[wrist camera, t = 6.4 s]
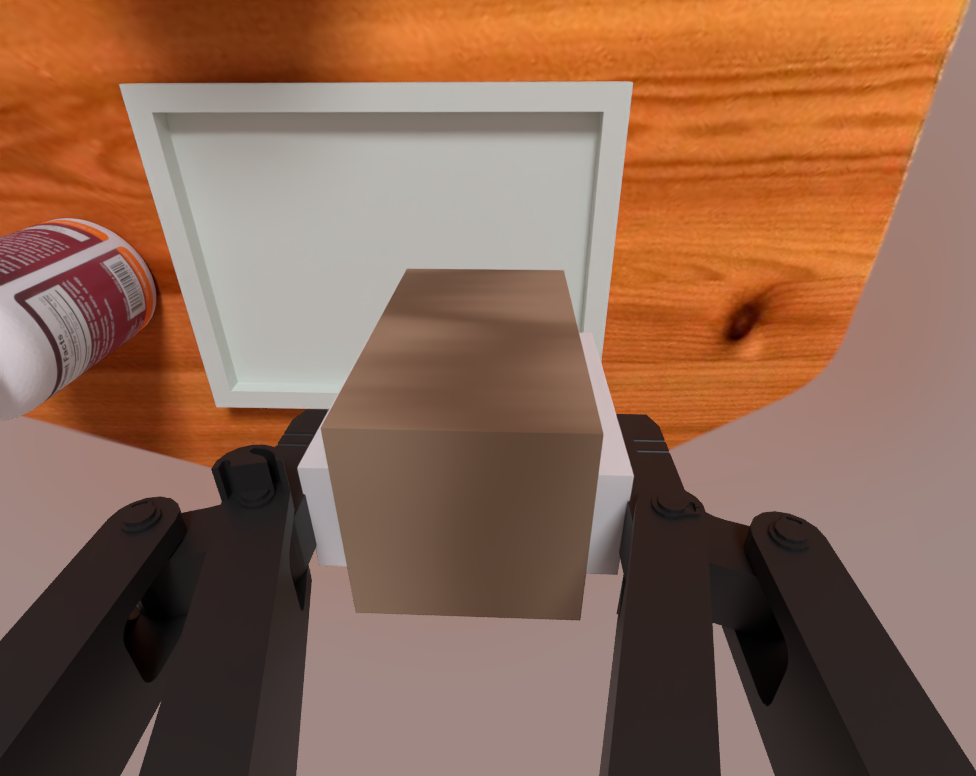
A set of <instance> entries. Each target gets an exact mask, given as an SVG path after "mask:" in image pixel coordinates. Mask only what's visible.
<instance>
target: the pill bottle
mask: <svg viewBox="0 0 976 776" xmlns="http://www.w3.org/2000/svg"><path fill="white" fill-rule="evenodd" d="M155 307H156V289H155V284H154V281H153V278H152V275H151V273H150V271H149V268H148V267H147V265H146V263H145V262H144V260H143V259H142V257H141V256H140V255H139V254H138V253H137V252H136V251H135V249H134V248H132V247H131V246H130V245H129V244H128V243H127V242H126V241H125V240H123V239H122V238H121V237H119V236H118V235H117V234H115V233H113V232H112V231H110V230H108V229H106V228H104V227H102V226H100V225H97V224H95V223H92V222H89V221H85V220H80V219H72V218H63V219H55V220H50V221H47V222H43V223H40V224H37V225H34V226H32V227H29V228H26V229H24V230H21V231H18V232H15V233H12V234H9V235H7V236H4V237H1V238H0V421H4V420H9V419H13V418H16V417H20V416H22V415H24V414H26V413H28V412H30V411H32V410H33V409H35V408H36V407H37V406H39V405H40V404H42V403H43V402H45V401H46V400H47V399H49V398H50V397H52V396H53V395H54V394H56V393H57V392H58V391H60V390H61V389H62V388H64V387H65V386H66V385H68V384H69V383H71V382H72V381H73V380H75V379H76V378H77V377H79V376H80V375H82V374H83V373H84V372H86V371H87V370H88V369H90V368H91V367H92V366H94V365H95V364H97V363H98V362H99V361H101V360H102V359H103V358H105V357H106V356H107V355H109V354H110V353H112V352H113V351H114V350H116V349H117V348H118V347H120V346H121V345H122V344H124V343H125V342H127V341H128V340H129V339H131V338H132V337H134V336H135V335H136V334H137V333H139V332H140V331H141V330H142V329H143V328H144V327H145V326H146V325H147V324H148V323H149V321H150V320H151V318H152V316H153V314H154V311H155Z"/></svg>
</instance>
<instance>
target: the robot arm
mask: <svg viewBox="0 0 976 776" xmlns="http://www.w3.org/2000/svg"><path fill="white" fill-rule="evenodd" d="M372 332H373V330H372ZM372 332H371V334H372ZM371 334H370V335H369V337H368V339H369V338H370V336H371ZM579 335H580V339H581V343H582V347H583V351H584V355H585V360H586V364H587V368H588V372H589V376H590V380H591V384H592V388H593V393H594V397H595V401H596V405H597V409H598V413H599V417H600V421H601V425H602V430H603V434H604V435H603V443H602V451H601V459H600V467H599V475H598V483H597V491H596V499H595V507H594V515H593V523H592V531H591V539H590V546H589V554H588V562H587V570H586V574H612V575H613V574H614V575H615V574H616V575H617V574H618V567H619V562H620V559H621V564H622V568H623V573H624V575H623V581H622V587H621V593H620V598H619V604H618V609H617V614H618V619H617V628H616V637H615V645H614V654H613V662H612V671H611V680H610V688H609V697H608V706H607V714H606V724H605V731H604V740H603V748H602V757H601V765H600V774H599V776H721V773H720V752H719V735H718V718H717V698H716V681H715V662H714V646H713V645H714V644H713V626H712V623H716V624H719V625H722V628H723V631H724V633H725V636H726V639H727V642H728V645H729V648H730V650H731V653H732V656H733V659H734V662H735V664H736V667H737V670H738V673H739V676H740V679H741V681H742V684H743V687H744V690H745V692H746V695H747V698H748V701H749V704H750V707H751V710H752V712H753V715H754V718H755V721H756V724H757V727H758V729H759V732H760V735H761V738H762V740H763V743H764V746H765V749H766V752H767V755H768V758H769V760H770V763H771V766H772V769H773V772H774V774H775V776H976V770H975V769H974V767H973V766H972V764H971V763H970V761H969V759H968V758H967V756H966V755H965V753H964V752H963V750H962V749H961V747H960V745H959V744H958V742H957V741H956V739H955V738H954V736H953V735H952V733H951V731H950V730H949V728H948V727H947V725H946V724H945V722H944V721H943V719H942V717H941V716H940V714H939V713H938V711H937V710H936V708H935V707H934V705H933V704H932V702H931V700H930V699H929V697H928V696H927V694H926V693H925V691H924V689H923V688H922V686H921V685H920V683H919V682H918V680H917V679H916V677H915V676H914V674H913V672H912V671H911V669H910V668H909V666H908V665H907V663H906V662H905V660H904V658H903V657H902V655H901V654H900V652H899V651H898V649H897V647H896V646H895V645H894V643H893V641H892V640H891V638H890V637H889V635H888V633H887V632H886V630H885V629H884V627H883V626H882V624H881V623H880V621H879V619H878V618H877V617H876V615H875V613H874V612H873V610H872V609H871V607H870V605H869V604H868V602H867V601H866V599H865V598H864V596H863V595H862V593H861V592H860V590H859V589H858V587H857V585H856V584H855V582H854V581H853V579H852V578H851V576H850V574H849V573H848V572H847V570H846V568H845V567H844V565H843V564H842V562H841V560H840V559H839V557H838V556H837V554H836V553H835V551H834V550H833V548H832V547H831V545H830V543H829V542H828V540H827V539H826V537H825V536H824V535H823V534H822V533H821V532H820V531H819V530H818V529H817V528H816V527H815V526H813V525H812V524H810V523H809V522H807V521H806V520H804V519H802V518H799V517H797V516H794V515H791V514H788V513H782V512H776V511H775V512H765V513H761V514H759V515H758V516H756V517H754V519H753V521H752V523H751V525H750V526H747V525H743V524H739V523H735V522H731V521H727V520H724V519H720V518H718V517H715V516H712V515H710V514H708V513H706V512H705V509H704V506H703V505H702V503H701V502H700V501H699V500H698V499H697V498H696V497H695V496H693V495H692V494H690V493H689V492H687V491H685V490H684V487H683V485H682V482H681V480H680V477H679V475H678V472H677V470H676V467H675V465H674V462H673V460H672V457H671V455H670V453H669V450H668V447H667V445H666V442H664V437H663V435H662V432H661V430H660V427H659V426H658V425H657V424H656V423H655V422H654V421H653V420H652V419H650V418H649V417H648V416H647V415H638V414H616V413H615V409H614V406H613V402H612V399H611V395H610V392H609V389H608V385H607V382H606V378H605V375H604V371H603V368H602V364H601V361H600V358H599V354H598V351H597V347H596V344H595V340H594V337H593V334H592V333H579ZM368 339H367V341H368ZM367 341H366V343H367ZM366 343H365V345H366ZM365 345H364V346H363V348H362V350H363V349H364V347H365ZM362 350H361V352H362ZM361 352H360V354H361ZM360 354H359V356H360ZM359 356H358V357H357V359H356V361H355V363H356V362H357V360H358V358H359ZM355 363H354V365H355ZM354 365H353V367H354ZM353 367H352V368H351V370H350V372H349V374H350V373H351V371H352V369H353ZM349 374H348V376H349ZM348 376H347V377H346V379H345V381H344V383H343V385H342V387H343V386H344V384H345V382H346V380H347V378H348ZM342 387H341V388H340V390H339V392H338V394H337V396H336V398H337V397H338V395H339V393H340V391H341V389H342ZM336 398H335V399H334V401H333V403H332V405H331V407H330V409H329V410H321V409H307V410H306V411H304V412H303V413H301V414H300V415H299V416H297V417H296V418H295V419H293V420H292V422H291V423H290V425H289V426H288V428H287V429H286V431H285V433H284V435H283V436H282V437H281V439H280V441H279V442H278V446H276V447H272V446H268V445H250V446H245V447H241V448H238V449H235V450H233V451H231V452H229V453H226V454H225V455H224V456H222V457H221V458H220V459H218V460H217V461H216V463H215V464H214V466H213V467H212V469H211V470H212V473H213V476H214V479H215V482H216V485H217V488H218V491H219V494H220V497H221V500H222V503H221V505H218V506H213V507H210V508H204V509H199V510H194V511H189V512H184V513H181V511H180V508H179V505H178V503H176V502H175V501H174V500H172V499H171V498H165V497H152V498H145V499H142V500H139V501H136V502H133V503H131V504H129V505H127V506H125V507H123V508H121V509H120V510H118V511H117V512H116V513H115V514H114V515H112V516H111V517H110V518H109V519H108V520H107V521H106V522H105V523H104V524H103V525H102V527H101V528H100V529H99V530H98V531H97V532H96V533H95V534H94V536H93V537H92V538H91V539H90V540H89V541H88V542H87V543H86V545H85V546H84V547H83V548H82V549H81V550H80V551H79V553H78V554H77V555H76V556H75V557H74V558H73V559H72V560H71V562H70V563H69V564H68V565H67V566H66V567H65V568H64V569H63V571H62V572H61V573H60V574H59V575H58V576H57V577H56V578H55V580H54V581H53V582H52V583H51V584H50V585H49V586H48V588H47V589H46V590H45V591H44V592H43V593H42V594H41V595H40V597H39V598H38V599H37V600H36V601H35V602H34V603H33V604H32V606H31V607H30V608H29V609H28V610H27V611H26V612H25V613H24V615H23V616H22V617H21V618H20V619H19V620H18V621H17V623H16V624H15V625H14V626H13V627H12V628H11V629H10V630H9V632H8V633H7V634H6V635H5V636H4V637H3V638H2V640H1V641H0V776H120V775H121V773H122V771H123V770H124V768H125V766H126V764H127V762H128V760H129V759H130V757H131V755H132V753H133V751H134V750H135V748H136V746H137V744H138V742H139V740H140V739H141V737H142V735H143V733H144V731H145V729H146V728H147V726H148V724H149V722H150V720H151V718H152V717H153V715H154V713H155V711H156V709H157V707H158V706H159V703H160V702H161V704H160V707H159V711H158V714H157V717H156V720H155V724H154V727H153V730H152V734H151V737H150V741H149V744H148V747H147V750H146V754H145V757H144V760H143V763H142V767H141V770H140V774H139V776H296V770H297V758H298V745H299V732H300V720H301V707H302V695H303V682H304V669H305V657H306V644H307V632H308V619H309V607H310V595H311V582H312V579H311V574H310V569H309V565H308V564H309V562H310V560H311V557H312V555H313V552H314V550H315V548H316V552H317V557H318V561H319V565H325V566H326V565H327V566H347V564H346V559H345V554H344V548H343V543H342V538H341V533H340V528H339V522H338V517H337V512H336V507H335V501H334V496H333V491H332V486H331V481H330V475H329V470H328V465H327V460H326V454H325V449H324V444H323V439H322V433H321V426H322V424H323V422H324V421H325V419H326V417H327V415H328V413H329V411H330V410H331V408H332V406H333V404H334V402H335V400H336ZM161 700H162V701H161Z"/></svg>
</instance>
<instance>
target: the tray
mask: <svg viewBox="0 0 976 776" xmlns="http://www.w3.org/2000/svg"><path fill="white" fill-rule="evenodd" d="M119 86H120V89H121V93H122V96H123V99H124V103H125V106H126V109H127V112H128V116H129V119H130V122H131V126H132V129H133V132H134V136H135V139H136V142H137V146H138V149H139V152H140V156H141V159H142V162H143V165H144V169H145V172H146V175H147V179H148V182H149V185H150V189H151V192H152V195H153V199H154V202H155V205H156V208H157V212H158V215H159V218H160V222H161V225H162V228H163V232H164V235H165V238H166V242H167V245H168V248H169V251H170V255H171V258H172V261H173V265H174V268H175V271H176V275H177V278H178V281H179V285H180V288H181V291H182V294H183V298H184V301H185V304H186V308H187V311H188V314H189V318H190V321H191V324H192V328H193V331H194V334H195V337H196V341H197V344H198V347H199V351H200V354H201V357H202V361H203V364H204V367H205V371H206V374H207V377H208V380H209V384H210V387H211V390H212V394H213V397H214V400H215V404H216V407H239V408H297V409H330V407H331V405H332V403H333V401H334V399H335V398H336V396H337V394H338V392H339V390H340V388H341V387H342V385H343V383H344V381H345V379H346V377H347V376H348V374H349V372H350V370H351V368H352V367H353V365H354V363H355V361H356V359H357V357H358V356H359V354H360V352H361V350H362V348H363V346H364V345H365V343H366V341H367V339H368V337H369V335H370V334H371V332H372V330H374V328H375V326H376V325H377V323H378V321H379V319H380V317H381V315H382V314H383V312H384V310H385V308H386V306H387V304H388V303H389V301H390V299H391V297H392V295H393V293H394V291H395V290H396V288H397V286H398V284H399V282H400V280H401V279H402V277H403V275H404V273H405V271H406V269H496V270H564V273H565V277H566V281H567V285H568V290H569V294H570V298H571V302H572V306H573V310H574V314H575V318H576V323H577V327H578V331H579V333H592V334H593V337H594V340H595V344H596V347H597V351H598V354H599V358H600V361H601V359H602V351H603V342H604V333H605V324H606V315H607V307H608V298H609V289H610V280H611V272H612V263H613V254H614V245H615V236H616V228H617V219H618V210H619V201H620V192H621V184H622V175H623V166H624V157H625V148H626V140H627V131H628V122H629V113H630V104H631V96H632V87H633V82H628V81H562V82H295V83H131V84H119Z"/></svg>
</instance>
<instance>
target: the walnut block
mask: <svg viewBox="0 0 976 776" xmlns="http://www.w3.org/2000/svg"><path fill="white" fill-rule="evenodd" d="M321 433H322V439H323V444H324V449H325V454H326V460H327V465H328V470H329V475H330V481H331V486H332V491H333V496H334V501H335V507H336V512H337V517H338V522H339V528H340V533H341V538H342V543H343V548H344V554H345V559H346V564H347V569H348V575H349V580H350V585H351V590H352V595H353V601H354V606H355V611H356V613H384V614H412V615H441V616H471V617H498V618H528V619H557V620H580V618H581V609H582V602H583V593H584V586H585V578H586V570H587V562H588V554H589V546H590V539H591V531H592V523H593V515H594V507H595V499H596V491H597V483H598V475H599V467H600V459H601V451H602V443H603V435H604V434H603V430H602V425H601V421H600V417H599V413H598V409H597V405H596V401H595V397H594V393H593V388H592V384H591V380H590V376H589V372H588V368H587V364H586V360H585V355H584V351H583V347H582V343H581V339H580V335H579V331H578V327H577V323H576V318H575V314H574V310H573V306H572V302H571V298H570V294H569V290H568V285H567V281H566V277H565V273H564V270H496V269H406V271H405V273H404V275H403V277H402V279H401V280H400V282H399V284H398V286H397V288H396V290H395V291H394V293H393V295H392V297H391V299H390V301H389V303H388V304H387V306H386V308H385V310H384V312H383V314H382V315H381V317H380V319H379V321H378V323H377V325H376V326H375V328H374V330H373V332H372V334H371V336H370V338H369V339H368V341H367V343H366V345H365V347H364V349H363V350H362V352H361V354H360V356H359V358H358V360H357V362H356V363H355V365H354V367H353V369H352V371H351V373H350V374H349V376H348V378H347V380H346V382H345V384H344V386H343V387H342V389H341V391H340V393H339V395H338V397H337V398H336V400H335V402H334V404H333V406H332V408H331V410H330V411H329V413H328V415H327V417H326V419H325V421H324V422H323V424H322V426H321Z"/></svg>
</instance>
